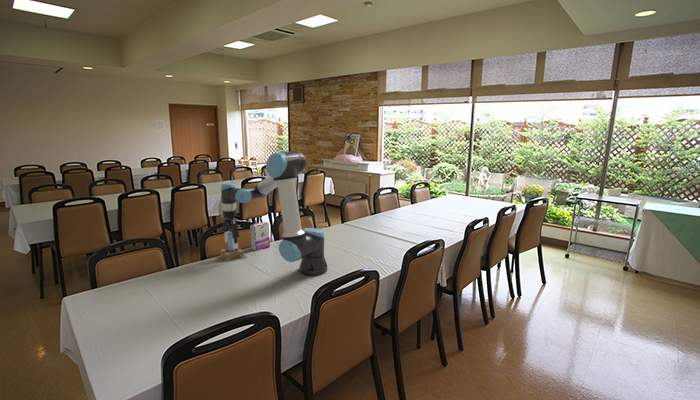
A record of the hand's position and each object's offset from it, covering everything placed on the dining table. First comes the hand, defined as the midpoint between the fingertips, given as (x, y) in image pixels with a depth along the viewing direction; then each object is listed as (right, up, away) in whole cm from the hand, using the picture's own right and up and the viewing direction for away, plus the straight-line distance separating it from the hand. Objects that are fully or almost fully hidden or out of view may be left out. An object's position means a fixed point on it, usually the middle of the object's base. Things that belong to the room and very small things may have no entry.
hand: (231, 245), depth 203 cm
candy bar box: (+13, -5, +18) cm, 22 cm away
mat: (+1, -7, +2) cm, 8 cm away
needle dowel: (0, -7, +2) cm, 7 cm away
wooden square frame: (0, -7, +2) cm, 7 cm away
